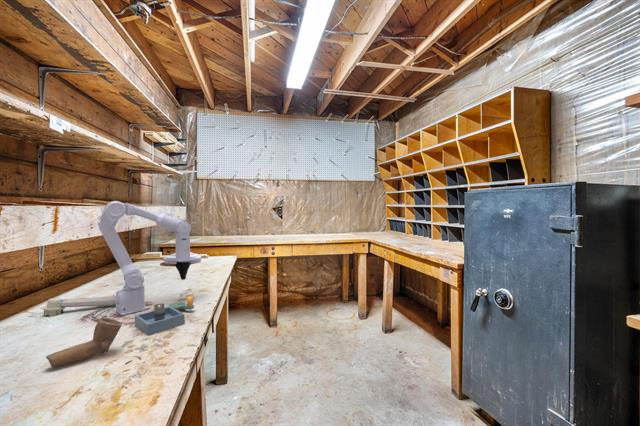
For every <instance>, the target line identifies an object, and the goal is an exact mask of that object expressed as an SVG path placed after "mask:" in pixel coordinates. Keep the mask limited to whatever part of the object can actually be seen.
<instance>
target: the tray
mask: <svg viewBox="0 0 640 426" xmlns="http://www.w3.org/2000/svg"><path fill="white" fill-rule="evenodd" d="M185 324H186V323H185V313H183V311H182V312H180V311H178V310H176V309H174V308H173V307H171V306H169V305H168V306H165V319H163V320H159V321H156V322H155V319H154V310H151V311H147V312H143V313H139V314H134V326H135V327H136V328H137V329H139V330H140V331H142V332H143V333H144V334H145V335H147V336H150V335H153V334H157V333H160V332H163V331H166V330H170V329H173V328H176V327H178V326H179V327H180V326H182V325H185Z"/></svg>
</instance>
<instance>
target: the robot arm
mask: <svg viewBox="0 0 640 426" xmlns="http://www.w3.org/2000/svg"><path fill="white" fill-rule="evenodd" d="M124 215H125V216H137V217H141V218H143V219H146V220H149V221H153V222H155V223H156V226H157V227H159V228H162V229H165V230H168V231H171V232H175V257H169V258H166V257H165V259H164V264H175V265H174V266H175V268H176V270H177V271H178V274H179V277H180V280H181V281H182V280H183V281H185V280H186V279H187V273H188V271H189V269H190V266H191V264H193V263H196V264H197V263H198V264H199V263H202V257H196V256H195V257H191V237H190V233H191V231H192V227H191V224H190V223H189V222H188V221H185V220H183V219H182V218H180V217H174V216H173V215H170V213H167V212H166V213H160V214H158V213H155V212H153V211H150V210H148V209H145V208H143V207H140V206H138V205H135V204H132V203H131V204H130V203H125V202H124V203H123V202H121V201H119V200H113V201H112V200H111V201H110V202H108V203H107V204H106V206H105V207H104V208H103V210H102V213H101V217H100V220H99V225H98V229H99V231H100V233H101V235H102V236H103V238H104V241H105V242H106V244H107V246H108V248H109V249H110V251H111V253H112V255H113V258H114V260H115V261H116V263H117V264H118V266H119V268H120V270H121V272H122V274H123V275H122V276H123V280H124V286H123V287H122V289H120V290H117V291H116V293H115V296H116V306H115V311H116V313H118V314H119V315H120V316H126V315H130V314H134V313H138V312H141V311H146V310H149V306H147V305H146V304H145V303H146V299H145V298H146V297H145V284H144V282H145V279H144V278H145V277H144V276H143V275H142V271H140V270H139V269H137V268H136V267H135V264H134V263H133V261H132V259H131V256H130V255H129V253H128V251H127V249H126V247H125V245H124V243H123V241H122V240H121V238H120V236H119V234H118V232H117V230H116V226H117V223H118V222H119V220H120V219H121V218H122V217H123V216H124Z"/></svg>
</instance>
